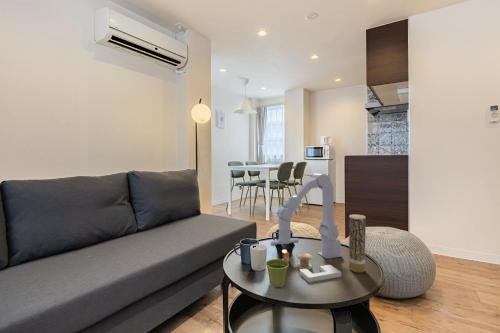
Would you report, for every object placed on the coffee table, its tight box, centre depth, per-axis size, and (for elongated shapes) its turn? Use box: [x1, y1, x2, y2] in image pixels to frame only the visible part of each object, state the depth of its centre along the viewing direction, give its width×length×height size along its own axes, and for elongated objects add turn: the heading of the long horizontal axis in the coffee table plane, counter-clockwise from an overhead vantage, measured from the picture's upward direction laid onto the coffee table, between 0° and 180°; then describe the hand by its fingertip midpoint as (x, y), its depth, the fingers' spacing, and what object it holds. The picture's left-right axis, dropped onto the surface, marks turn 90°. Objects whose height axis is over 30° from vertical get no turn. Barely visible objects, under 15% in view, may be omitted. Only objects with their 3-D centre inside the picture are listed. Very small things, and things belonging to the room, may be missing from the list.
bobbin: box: [296, 252, 313, 271], centre depth 122 cm, size 7×7×5 cm
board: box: [299, 264, 342, 283], centre depth 114 cm, size 16×8×2 cm, turn 108°
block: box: [282, 249, 290, 263], centre depth 129 cm, size 3×4×5 cm
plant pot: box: [266, 258, 290, 288], centre depth 106 cm, size 9×9×9 cm
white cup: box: [249, 243, 268, 272], centre depth 121 cm, size 8×8×10 cm
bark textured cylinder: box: [348, 214, 367, 274], centre depth 118 cm, size 7×7×25 cm
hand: (284, 258), depth 129 cm, fingers open, 4 cm apart
